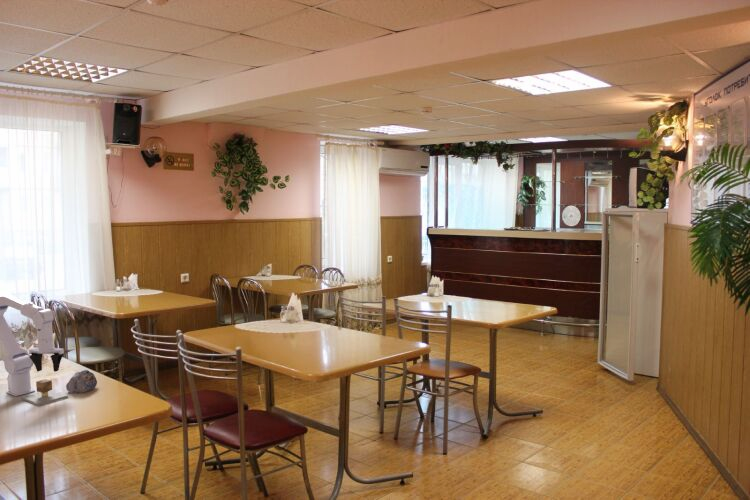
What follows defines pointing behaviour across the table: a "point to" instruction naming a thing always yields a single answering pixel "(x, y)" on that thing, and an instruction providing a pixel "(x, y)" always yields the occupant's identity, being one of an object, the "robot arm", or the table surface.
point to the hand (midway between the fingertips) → (47, 370)
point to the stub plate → (44, 397)
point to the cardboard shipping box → (44, 385)
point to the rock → (81, 382)
